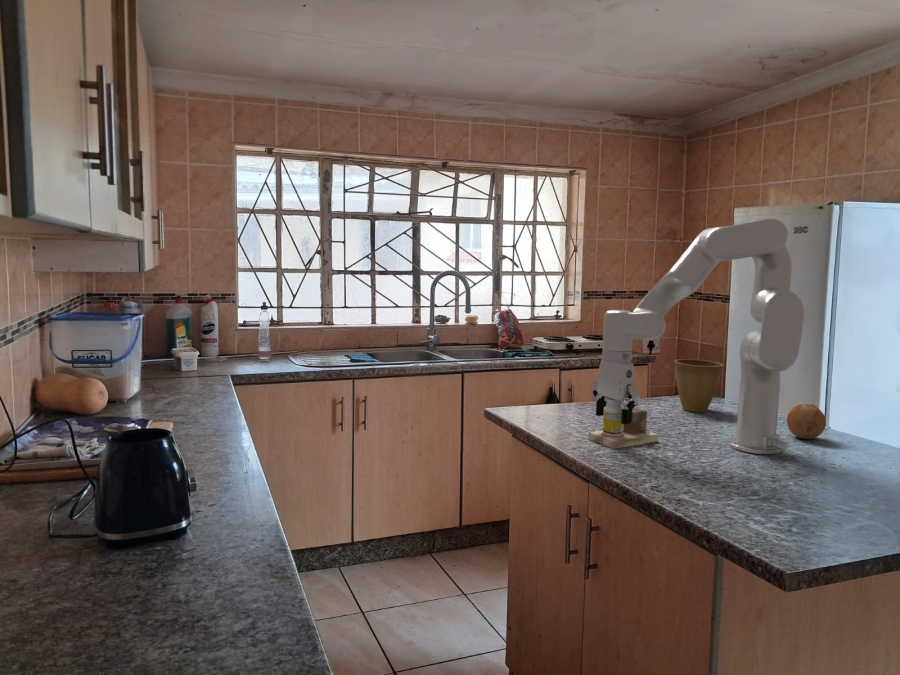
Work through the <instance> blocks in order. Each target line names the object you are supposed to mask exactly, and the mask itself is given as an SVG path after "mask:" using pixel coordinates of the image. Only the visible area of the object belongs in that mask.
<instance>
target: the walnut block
mask: <svg viewBox="0 0 900 675" xmlns="http://www.w3.org/2000/svg"><path fill="white" fill-rule="evenodd" d="M647 419H648V410H646V409H642V408H638V407H637V406H635V408H634V409H632V423H630V424H624V429H623V431H624V432H627V433H630V434H638V433H644V432H646V431H647V422H648V420H647Z"/></svg>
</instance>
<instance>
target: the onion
mask: <svg viewBox="0 0 900 675" xmlns="http://www.w3.org/2000/svg"><path fill="white" fill-rule="evenodd" d="M786 424H787V429H788V431H789V432H790V433H791V434H792V435H794V436H795V437H797V438H798V437H799V438H798V439H801V438H803V439H802V440H812V439H815V438H817V437H819V436H820V435H821V436H822V434H823V433H824V431H825V429H826V427H827V426H826V425H827V420H826V416H825V414H824V412H823V411H822V410H821V409H820V408H819V407H818V406H817V405H815V404H812V403H802V404H797V405H794V406H793V407H792V408H791V409H790V410H789V412H788V414H787V416H786Z"/></svg>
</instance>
